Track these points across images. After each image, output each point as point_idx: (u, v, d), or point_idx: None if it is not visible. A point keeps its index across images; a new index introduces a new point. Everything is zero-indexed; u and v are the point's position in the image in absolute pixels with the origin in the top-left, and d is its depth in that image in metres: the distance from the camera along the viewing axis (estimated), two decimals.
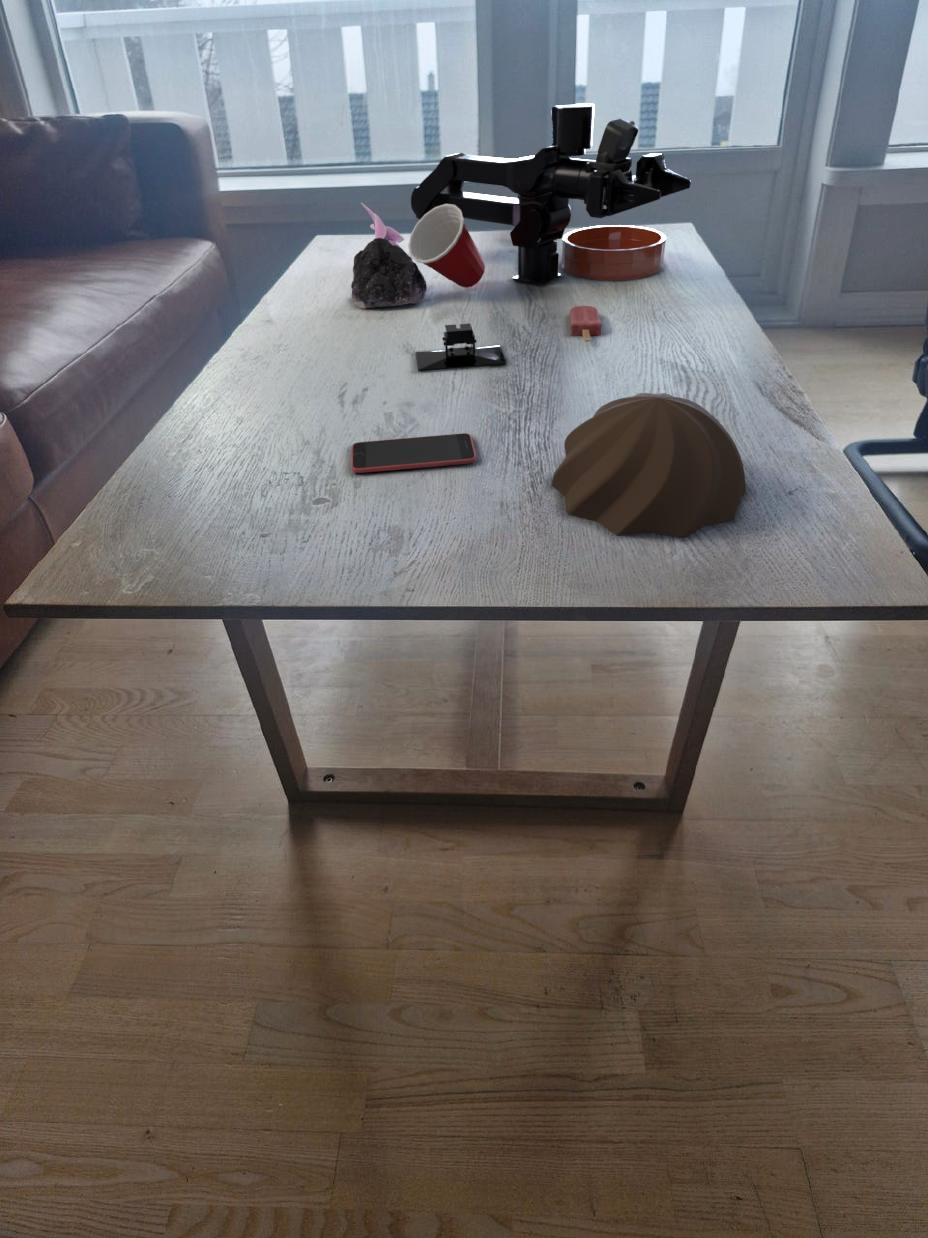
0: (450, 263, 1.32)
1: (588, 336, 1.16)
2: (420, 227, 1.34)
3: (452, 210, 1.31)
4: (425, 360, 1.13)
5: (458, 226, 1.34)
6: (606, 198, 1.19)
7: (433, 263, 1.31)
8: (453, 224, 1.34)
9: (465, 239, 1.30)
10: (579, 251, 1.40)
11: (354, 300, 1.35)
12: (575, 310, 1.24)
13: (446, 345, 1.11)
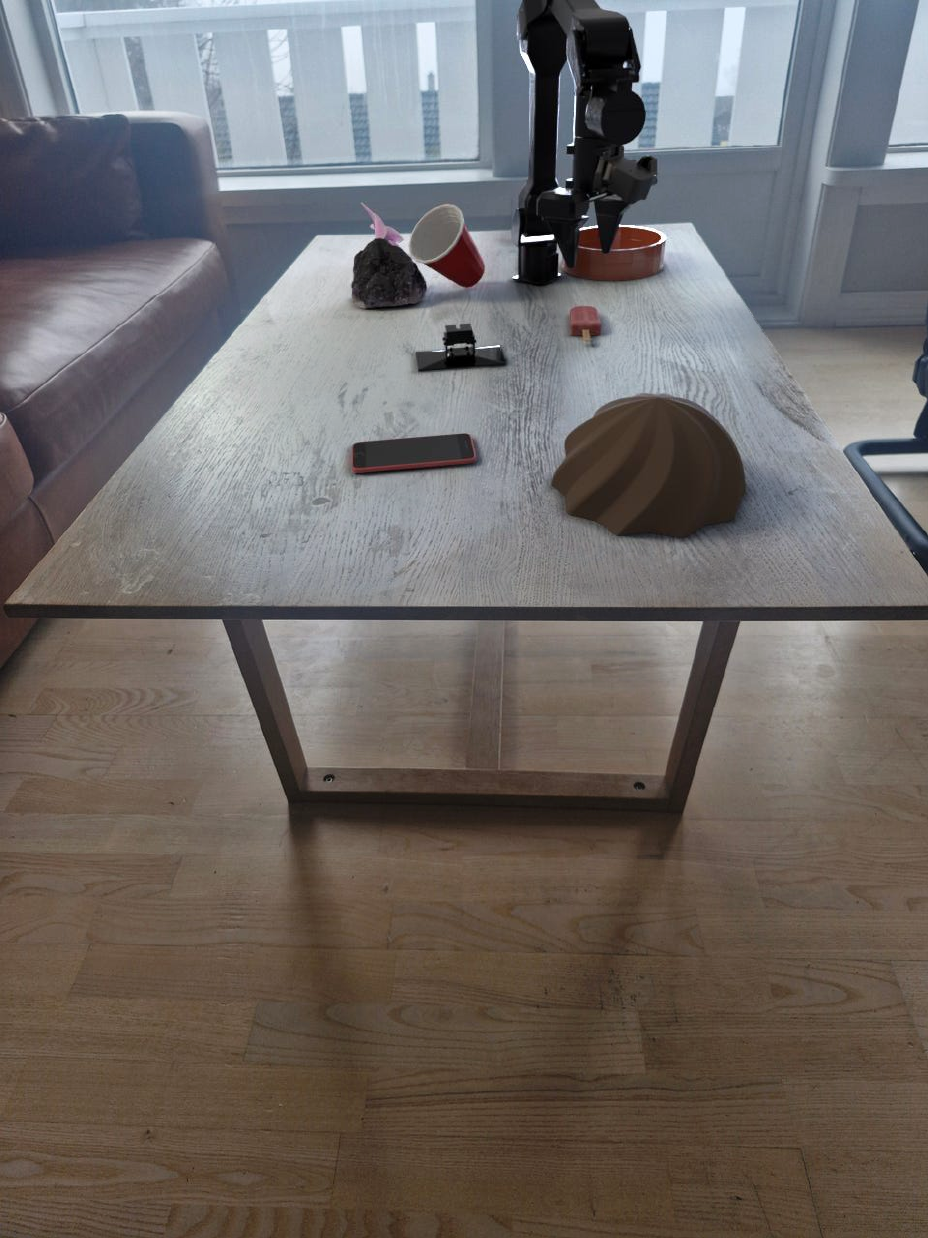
0: (450, 264, 1.32)
1: (588, 336, 1.16)
2: (420, 227, 1.34)
3: (452, 210, 1.31)
4: (425, 360, 1.13)
5: (458, 226, 1.34)
6: None
7: (433, 263, 1.31)
8: (453, 224, 1.34)
9: (465, 240, 1.30)
10: (579, 251, 1.40)
11: (354, 300, 1.35)
12: (576, 310, 1.24)
13: (446, 345, 1.11)
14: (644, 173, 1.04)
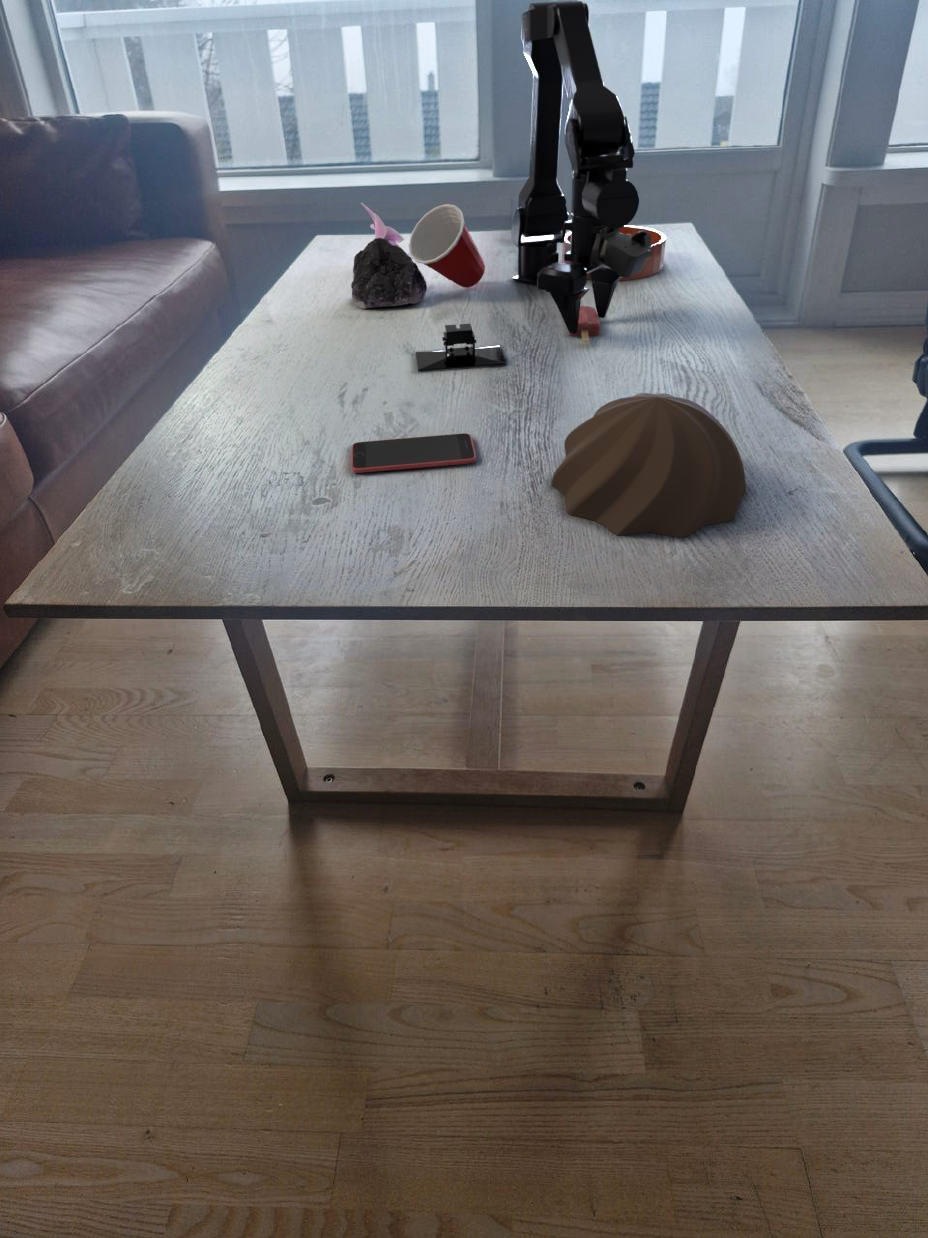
0: (450, 264, 1.32)
1: (587, 336, 1.16)
2: (420, 227, 1.34)
3: (453, 210, 1.31)
4: (425, 360, 1.13)
5: (458, 226, 1.34)
6: None
7: (433, 264, 1.31)
8: (453, 224, 1.34)
9: (465, 240, 1.30)
10: None
11: (354, 300, 1.35)
12: None
13: (446, 345, 1.11)
14: (638, 249, 1.10)
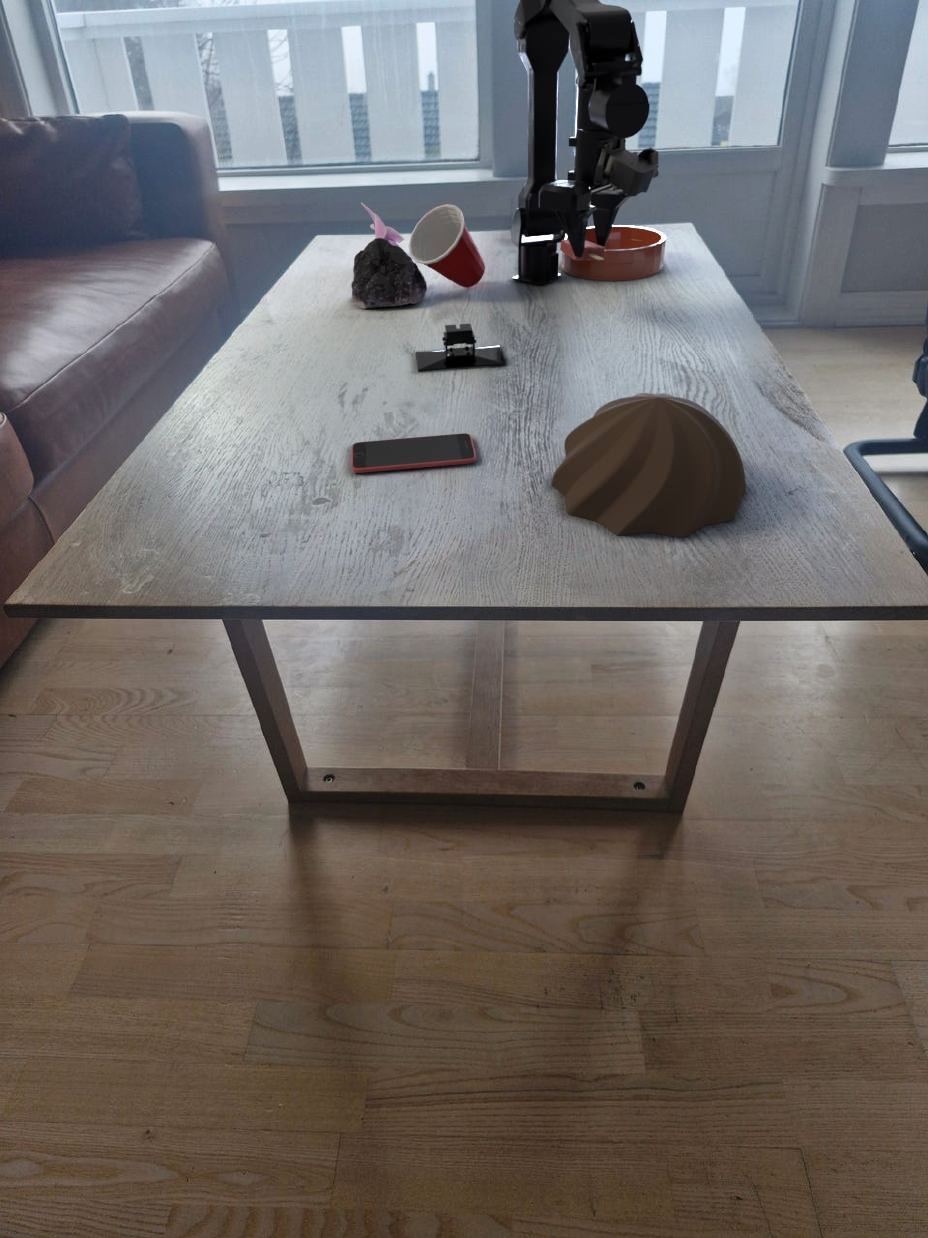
0: (450, 264, 1.32)
1: (599, 257, 1.12)
2: (421, 227, 1.34)
3: (453, 211, 1.31)
4: (425, 360, 1.12)
5: (459, 226, 1.34)
6: None
7: (433, 264, 1.31)
8: (454, 224, 1.34)
9: (466, 240, 1.30)
10: None
11: (354, 300, 1.35)
12: (568, 241, 1.20)
13: (446, 345, 1.11)
14: (645, 166, 1.05)
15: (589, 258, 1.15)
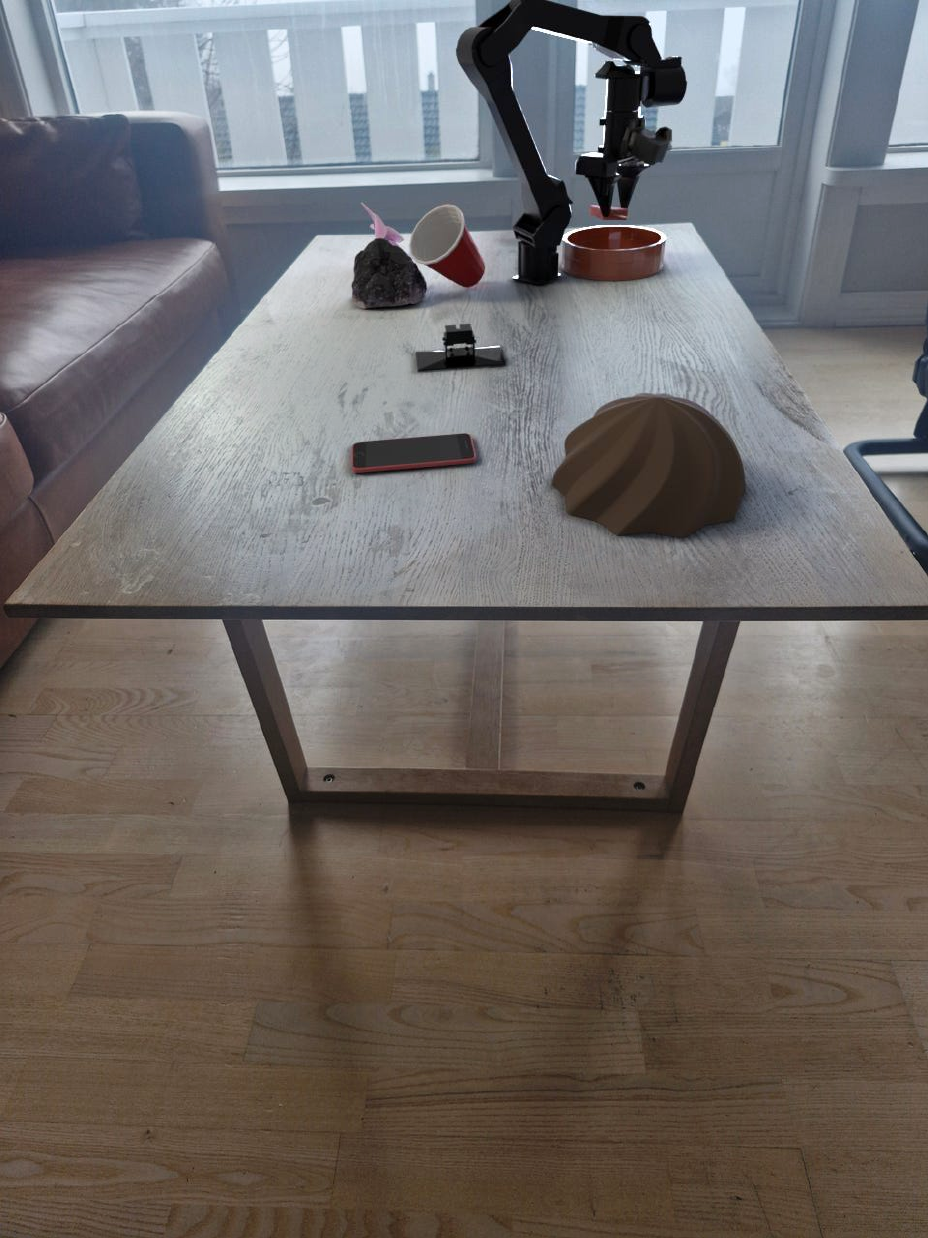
0: (450, 265, 1.32)
1: (624, 216, 1.38)
2: (421, 227, 1.34)
3: (453, 211, 1.31)
4: (425, 360, 1.12)
5: (459, 226, 1.33)
6: None
7: (434, 264, 1.31)
8: (454, 224, 1.34)
9: (466, 241, 1.30)
10: (579, 251, 1.40)
11: (354, 300, 1.35)
12: (596, 206, 1.46)
13: (446, 345, 1.11)
14: (661, 140, 1.31)
15: (615, 218, 1.41)
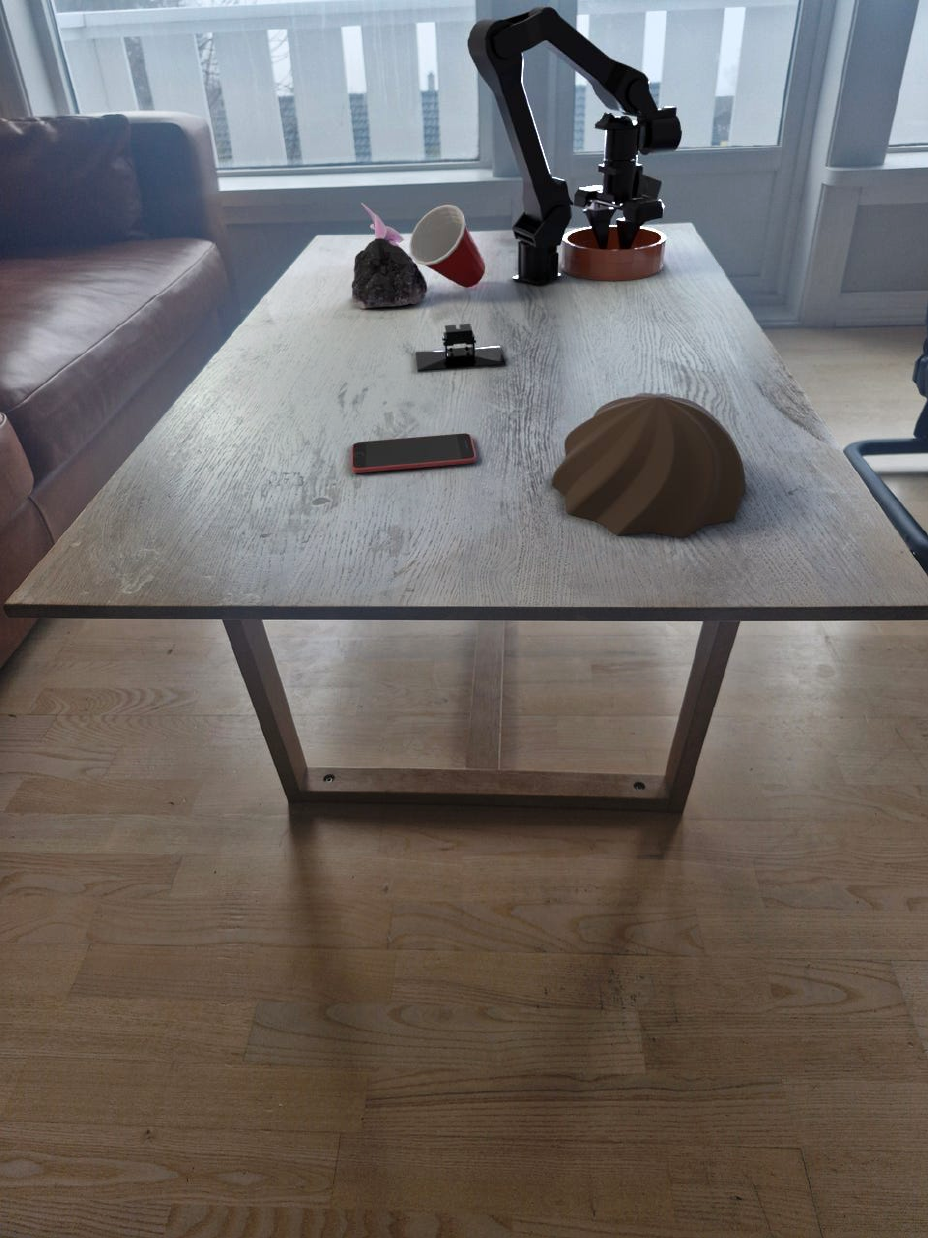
0: (451, 265, 1.32)
1: None
2: (421, 227, 1.33)
3: (454, 211, 1.30)
4: (425, 360, 1.12)
5: (459, 227, 1.33)
6: None
7: (434, 265, 1.31)
8: (454, 224, 1.33)
9: (466, 242, 1.30)
10: (579, 251, 1.40)
11: (354, 300, 1.35)
12: None
13: (446, 345, 1.11)
14: None
15: None
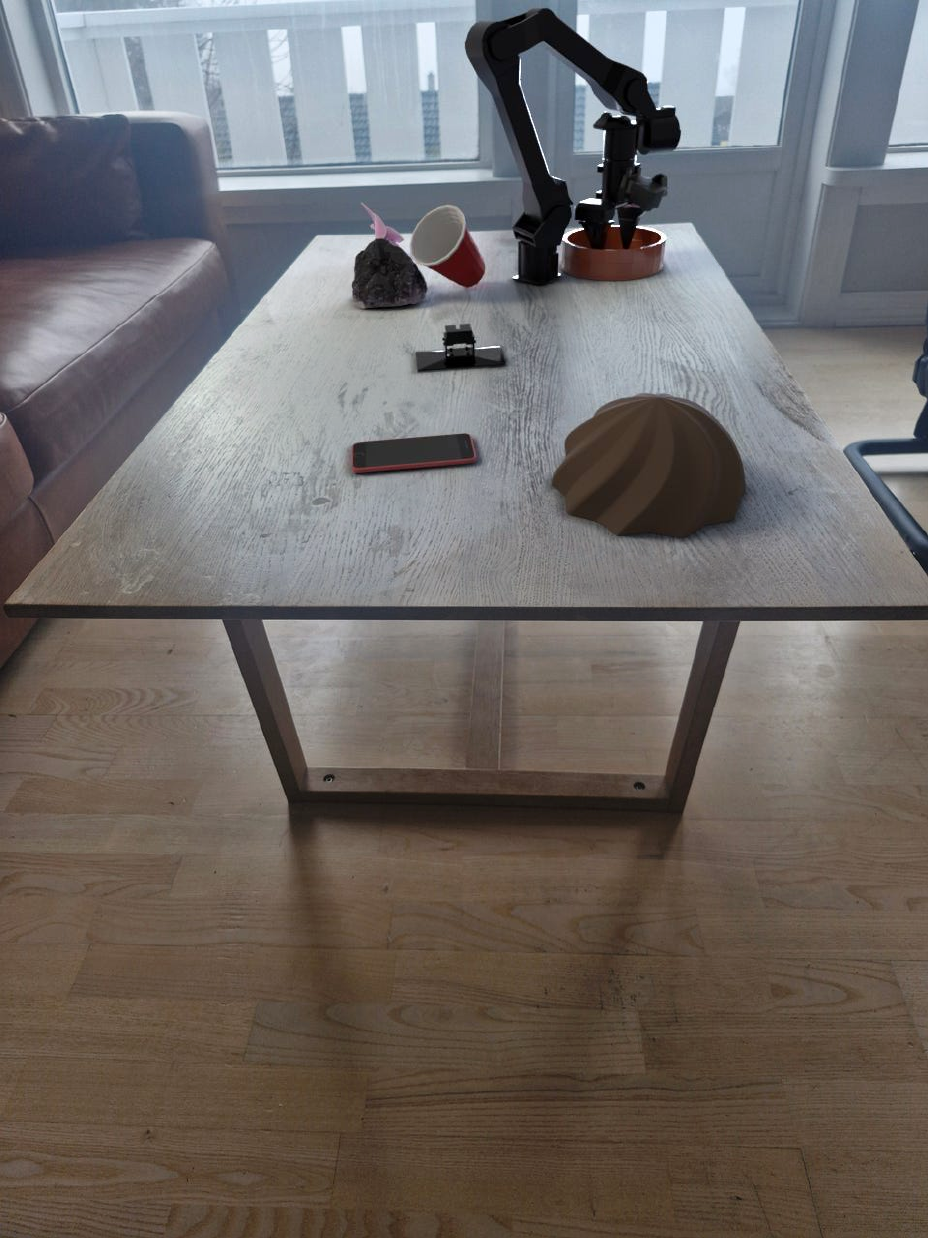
0: (451, 266, 1.32)
1: None
2: (422, 227, 1.33)
3: (454, 212, 1.30)
4: (425, 360, 1.12)
5: (460, 227, 1.33)
6: None
7: (434, 266, 1.31)
8: (455, 225, 1.33)
9: (467, 243, 1.30)
10: (579, 251, 1.40)
11: (354, 300, 1.35)
12: None
13: (445, 345, 1.11)
14: (657, 187, 1.36)
15: None
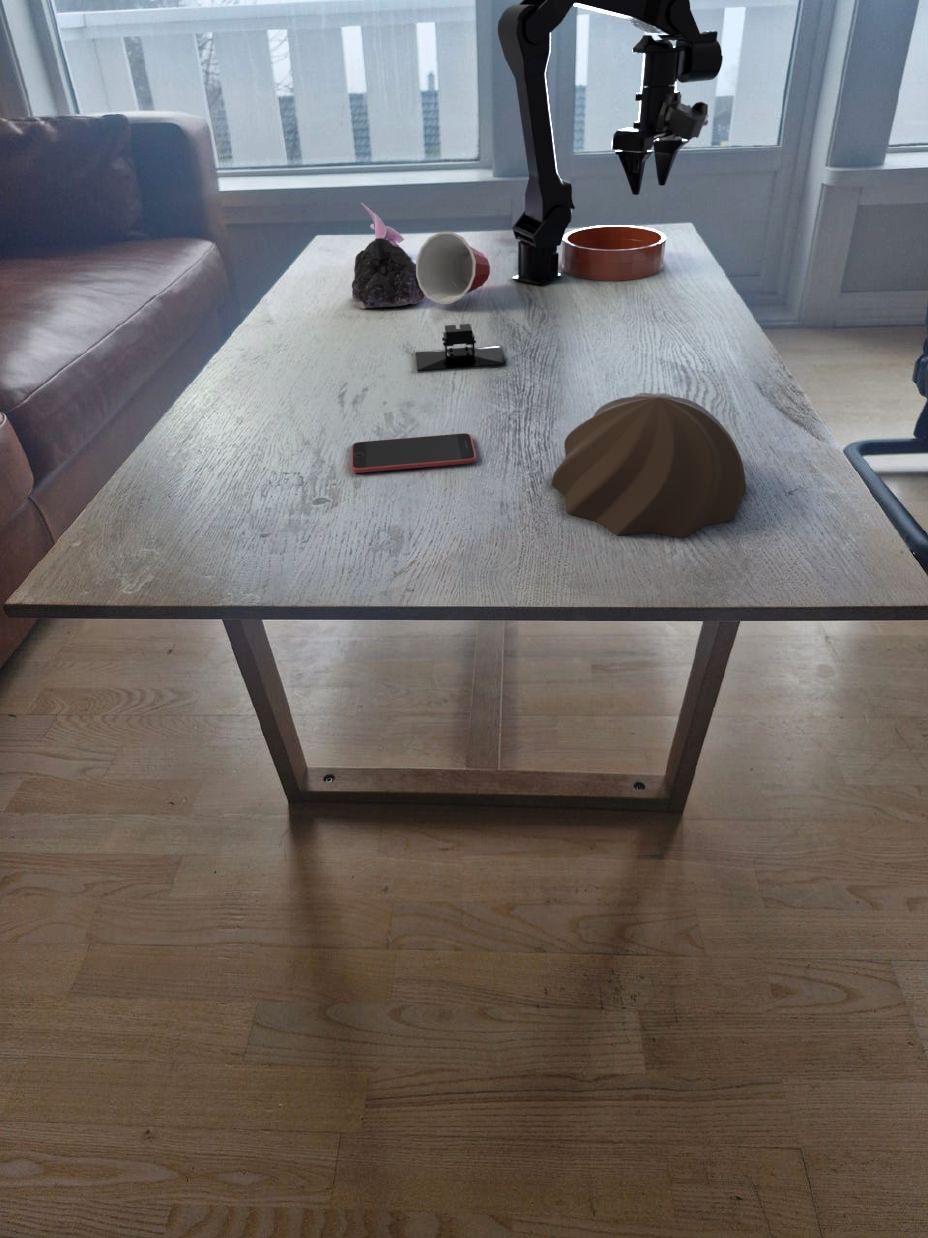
0: None
1: None
2: (432, 241, 1.28)
3: (467, 247, 1.26)
4: (424, 360, 1.12)
5: None
6: (626, 150, 1.33)
7: None
8: (466, 246, 1.29)
9: (473, 283, 1.30)
10: (579, 251, 1.40)
11: (354, 300, 1.35)
12: None
13: (445, 345, 1.11)
14: (698, 115, 1.31)
15: None
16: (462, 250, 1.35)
